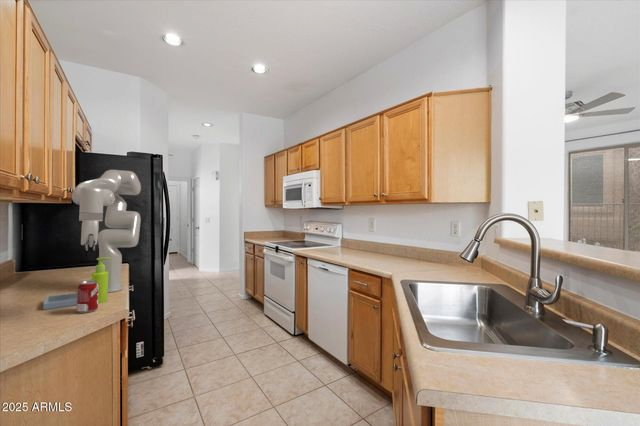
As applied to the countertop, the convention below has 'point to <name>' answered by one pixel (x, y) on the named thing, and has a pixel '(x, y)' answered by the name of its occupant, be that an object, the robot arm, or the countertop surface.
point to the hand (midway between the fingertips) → (89, 258)
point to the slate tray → (60, 301)
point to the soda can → (87, 296)
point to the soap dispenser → (101, 280)
